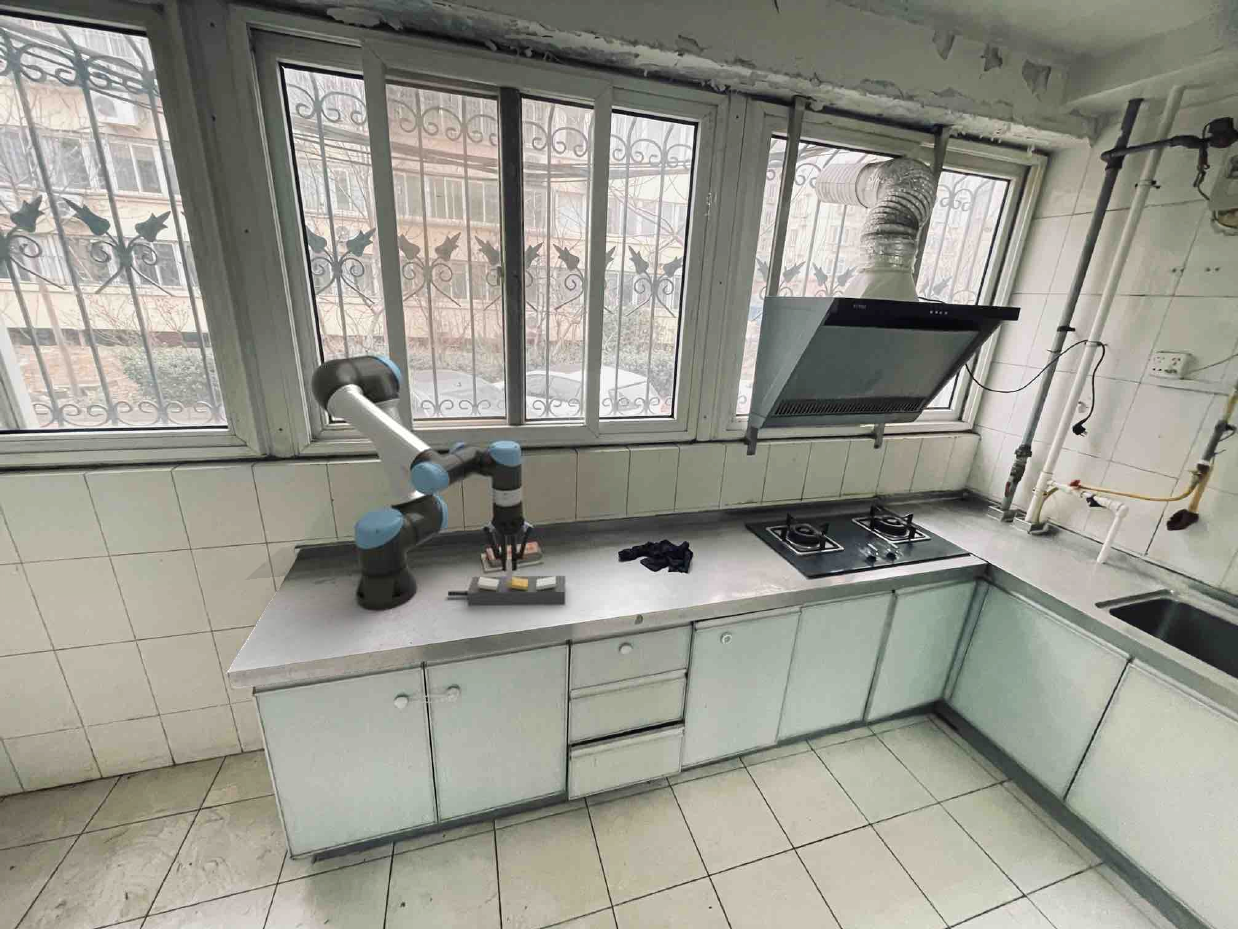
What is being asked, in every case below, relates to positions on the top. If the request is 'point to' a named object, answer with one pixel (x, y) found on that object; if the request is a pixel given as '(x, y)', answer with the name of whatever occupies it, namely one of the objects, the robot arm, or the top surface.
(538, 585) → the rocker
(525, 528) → the robot arm
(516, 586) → the yellow box
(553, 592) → the power strip
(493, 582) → the white box
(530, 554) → the packaged product
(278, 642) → the top surface
